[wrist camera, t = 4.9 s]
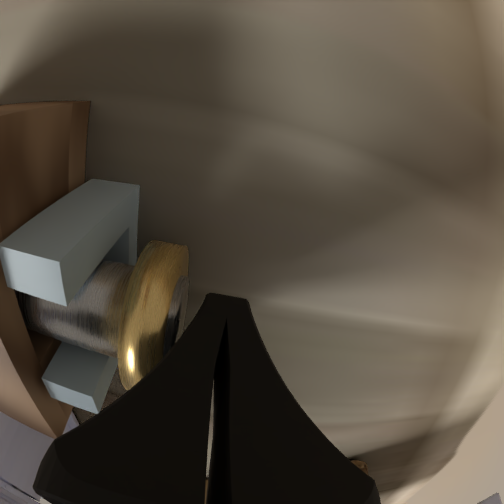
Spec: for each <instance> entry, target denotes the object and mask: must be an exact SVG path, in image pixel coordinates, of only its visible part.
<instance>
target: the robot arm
mask: <svg viewBox="0 0 504 504" xmlns="http://www.w3.org/2000/svg"><path fill="white" fill-rule="evenodd" d="M213 380H214V422H213V440H212V450H211V459H210V468H209V478H208V487H207V496H206V504H381V502H380V497H379V493H378V490H377V487H376V484H375V481H374V480H373V479H372V478H371V477H370V476H368V475H367V474H366V473H365V472H363V471H362V470H361V469H360V468H358V467H357V466H356V465H355V464H353V463H352V462H351V461H350V460H349V459H348V458H347V457H345V456H344V455H343V454H342V453H341V452H340V451H339V450H338V449H337V448H336V447H335V446H334V445H333V444H332V443H331V442H330V441H329V440H328V439H327V438H326V436H325V435H324V434H323V433H322V432H321V431H320V430H319V429H318V427H317V426H316V425H315V424H314V423H313V422H312V420H311V419H310V418H309V417H308V416H307V415H306V413H305V412H304V411H303V409H302V408H301V407H300V405H299V404H298V402H297V401H296V400H295V398H294V397H293V395H292V394H291V392H290V391H289V389H288V388H287V386H286V385H285V383H284V381H283V380H282V378H281V376H280V375H279V373H278V371H277V369H276V367H275V366H274V364H273V362H272V360H271V358H270V356H269V354H268V352H267V350H266V348H265V345H264V343H263V341H262V339H261V337H260V334H259V332H258V329H257V327H256V324H255V321H254V318H253V315H252V312H251V309H250V305H249V302H248V301H247V299H243V298H237V297H232V296H226V295H221V294H215V293H209V294H207V295H206V297H205V300H204V302H203V304H202V306H201V307H200V309H199V311H198V313H197V314H196V316H195V317H194V319H193V320H192V322H191V323H190V325H189V326H188V327H187V329H186V330H185V332H184V333H183V334H182V336H181V337H180V338H179V339H178V341H177V342H176V343H175V344H174V345H173V347H172V348H171V349H170V350H169V351H168V353H167V354H166V355H165V356H164V357H163V358H162V359H161V360H160V361H159V362H158V363H157V364H156V366H155V367H154V368H152V369H151V370H150V371H149V372H148V373H147V374H146V375H145V376H144V377H143V378H142V379H141V380H140V381H139V382H138V383H136V384H135V385H134V386H133V387H132V388H131V389H130V390H128V391H127V392H126V393H125V394H124V395H122V396H121V397H120V398H118V399H117V400H116V401H114V402H113V403H112V404H110V405H109V406H107V407H106V408H105V409H103V410H102V411H100V412H99V413H98V414H96V415H95V416H93V417H92V418H90V419H89V420H87V421H86V422H84V423H82V424H80V425H79V423H78V421H77V419H76V417H75V415H74V413H73V411H72V412H71V414H70V417H69V419H68V421H67V424H66V427H65V429H64V432H63V434H62V435H61V436H59V437H57V438H56V439H53V438H51V437H49V436H47V435H45V434H42V433H40V432H38V431H36V430H34V429H32V428H30V427H28V426H26V425H24V424H22V423H20V422H18V421H16V420H15V419H13V418H11V417H9V416H7V415H5V414H4V413H2V412H0V504H40V503H38V502H36V501H34V500H33V499H35V500H37V501H40V499H45V500H47V501H48V502H50V503H52V504H205V485H206V465H207V449H208V435H209V421H210V410H211V399H212V388H213ZM30 497H31V498H33V499H31V498H30ZM477 504H502V503H501V499H500V496H499V493H495V494H493V495H492V496H490V497H488V498H487V499H485V500H483V501H481V502H479V503H477Z"/></svg>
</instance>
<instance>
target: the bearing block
mask: <svg viewBox="0 0 504 504" xmlns="http://www.w3.org/2000/svg"><path fill="white" fill-rule="evenodd" d="M90 102H91V101H49V102H30V103H16V104H6V105H0V243H1V242H2V241H3V240H5V239H6V238H7V237H8V236H10V235H11V234H12V233H13V232H15V231H16V230H17V229H19V228H20V227H21V226H23V225H24V224H25V223H27V222H28V221H29V220H31V219H32V218H33V217H35V216H36V215H38V214H39V213H40V212H42V211H43V210H45V209H46V208H47V207H49V206H50V205H52V204H53V203H55V202H56V201H58V200H59V199H61V198H62V197H64V196H65V195H67V194H68V193H70V192H71V191H73V190H75V189H76V188H78V187H79V186H81V185H82V184H84V183H85V161H86V143H87V130H88V119H89V110H90ZM61 343H62V341H60V340H57V339H54V338H51V337H49V336H46V335H43V334H41V333H38V332H35V331H33V330H30V329H28V328H26V326H25V323H24V320H23V317H22V314H21V311H20V308H19V305H18V301H17V298H16V294H15V291H14V289H12V288H9V287H7V283H6V279H5V276H4V272H3V268H2V263H1V259H0V412H2V413H4V414H5V415H7V416H9V417H11V418H13V419H15V420H16V421H18V422H20V423H22V424H24V425H26V426H28V427H30V428H32V429H34V430H36V431H38V432H40V433H42V434H45V435H47V436H49V437H51V438H53V439H56V438H57V437H59V436H61V435H62V434H63V432H64V429H65V427H66V424H67V421H68V419H69V417H70V414H71V412H72V409H73V407H74V406H72V405H70V404H67V403H64V402H62V401H59V400H57V399H54V398H52V397H51V396H50V394H49V392H48V390H47V388H46V386H45V384H44V382H43V380H42V376H43V374H44V373H45V371H46V369H47V367H48V365H49V363H50V362H51V360H52V358H53V356H54V355H55V353H56V351H57V350H58V348H59V346H60V344H61Z"/></svg>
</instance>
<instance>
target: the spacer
mask: <svg viewBox="0 0 504 504" xmlns="http://www.w3.org/2000/svg"><path fill="white" fill-rule="evenodd" d="M139 193H140V185H135V184H128V183H121V182H114V181H107V180H99V179H91V180H89V181H87V182H86V183H84V184H82V185H81V186H79V187H78V188H76V189H75V190H73V191H71V192H70V193H68V194H67V195H65V196H64V197H62V198H61V199H59V200H58V201H56V202H55V203H53V204H52V205H50V206H49V207H47V208H46V209H45V210H43V211H42V212H40V213H39V214H38V215H36V216H35V217H33V218H32V219H31V220H29V221H28V222H27V223H25V224H24V225H23V226H21V227H20V228H19V229H17V230H16V231H15V232H13V233H12V234H11V235H10V236H8V237H7V238H6V239H5V240H3V241H2V242H1V243H0V259H1V263H2V268H3V272H4V276H5V279H6V283H7V287H9V288H12V289H15V290H18V291H20V292H23V293H26V294H29V295H32V296H35V297H38V298H41V299H44V300H47V301H50V302H54V303H57V304H60V305H63V306H68V304H69V303H70V302H71V300H72V299H73V297H74V296H75V295H76V293H77V292H78V291H79V289H80V288H81V286H82V285H83V284H84V282H85V281H86V280H87V278H88V277H89V276H90V274H91V273H92V272H93V271H94V269H95V268H96V267H97V265H98V264H99V263H100V262H101V260H102V259H105V260H110V261H114V262H119V263H123V264H128V265H133V266H135V264H136V262H137V229H138V208H139ZM117 366H118V358H115V357H111V356H107V355H104V354H101V353H97V352H94V351H90V350H87V349H84V348H81V347H78V346H75V345H72V344H69V343H66V342H63V341H62V343H61V344H60V346H59V348H58V350H57V351H56V353H55V355H54V356H53V358H52V360H51V362H50V363H49V365H48V367H47V369H46V371H45V373H44V374H43V376H42V380H43V382H44V384H45V386H46V388H47V390H48V392H49V394H50V396H51V397H52V398H54V399H57V400H59V401H62V402H64V403H67V404H70V405H72V406H75V407H78V408H80V409H83V410H86V411H89V412H92V413H95V414H98V413H99V412H100V410H101V408H102V405H103V402H104V399H105V397H106V394H107V391H108V389H109V386H110V383H111V381H112V378H113V376H114V373H115V371H116V368H117Z"/></svg>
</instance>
